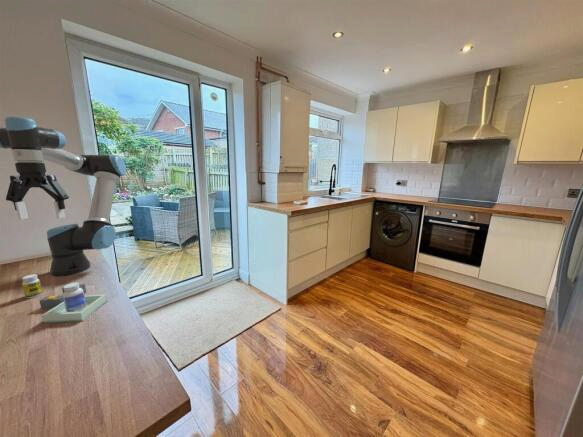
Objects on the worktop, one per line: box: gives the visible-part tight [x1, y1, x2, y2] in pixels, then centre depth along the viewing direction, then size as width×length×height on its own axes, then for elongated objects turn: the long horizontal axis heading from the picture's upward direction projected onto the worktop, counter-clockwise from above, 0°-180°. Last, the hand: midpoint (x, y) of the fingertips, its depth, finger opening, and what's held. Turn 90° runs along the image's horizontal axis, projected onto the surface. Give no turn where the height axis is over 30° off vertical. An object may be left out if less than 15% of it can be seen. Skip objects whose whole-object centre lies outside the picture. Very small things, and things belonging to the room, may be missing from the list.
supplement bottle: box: [21, 274, 43, 299], centre depth 96 cm, size 5×5×8 cm
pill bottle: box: [61, 282, 86, 312], centre depth 84 cm, size 5×5×10 cm
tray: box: [41, 293, 108, 324], centre depth 84 cm, size 12×12×3 cm
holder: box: [39, 283, 87, 310], centre depth 92 cm, size 12×7×4 cm, turn 4°
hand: (42, 218), depth 92 cm, fingers open, 13 cm apart
